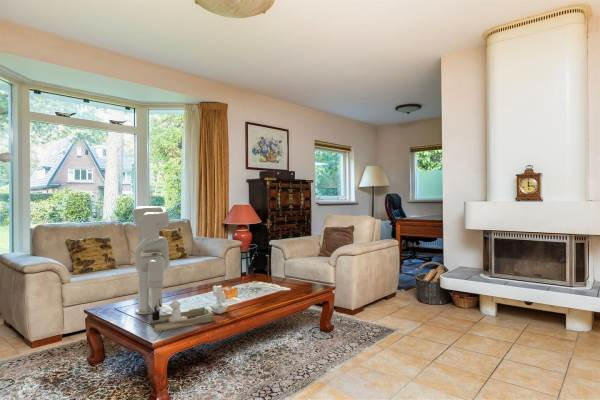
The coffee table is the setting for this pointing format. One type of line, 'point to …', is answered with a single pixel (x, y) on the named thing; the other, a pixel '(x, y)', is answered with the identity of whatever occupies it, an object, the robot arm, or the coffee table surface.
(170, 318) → the sitting furry creature
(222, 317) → the coffee table surface
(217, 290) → the figurine
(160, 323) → the mats
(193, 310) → the lane
